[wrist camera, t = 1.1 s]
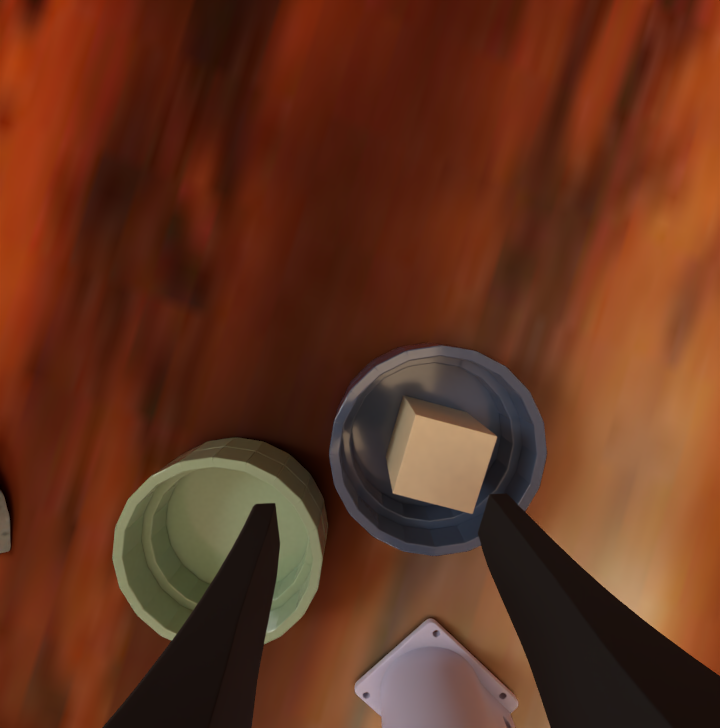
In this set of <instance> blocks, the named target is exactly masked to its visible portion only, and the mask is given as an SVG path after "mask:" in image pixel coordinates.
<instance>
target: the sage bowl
mask: <svg viewBox="0 0 720 728" xmlns="http://www.w3.org/2000/svg"><path fill="white" fill-rule="evenodd" d="M262 503H275V505H276V513H277V521H278V529H279V537H280V551H279V561H278V571H277V579H276V585H275V590H274V595H273V600H272V605H271V610H270V615H269V620H268V626H267V631H266V636H265V641H264V644H266V643H268V642H270V641H272V640H274V639H276V638H279V637H280V636H282V635H283V634H284V633H285V632H286V631H287V630H288V629H290V628H291V627H292V626H293V625H294V624H295V623H296V622H297V621H298V620H299V619H300V618H301V617H302V616H303V615H304V614H305V612H306V610H307V608H308V606H309V605H310V603H311V601H312V599H313V597H314V595H315V594H316V592H317V590H318V587H319V581H320V574H321V568H322V562H323V556H324V550H325V544H326V538H327V531H328V520H327V514H326V508H325V502H324V499H323V496H322V494H321V492H320V490H319V489H318V487H317V485H316V483H315V481H314V479H313V478H312V476H311V475H310V473H309V472H308V471H307V470H306V469H305V468H304V467H303V466H302V465H300V464H299V463H298V462H297V461H296V460H295V459H294V458H293V457H292V456H291V455H290V454H288V453H286V452H284V451H282V450H280V449H278V448H276V447H274V446H272V445H270V444H268V443H266V442H263V441H256V440H250V439H244V438H237V437H236V438H235V437H234V438H227V439H221V440H214V441H208V442H205V443H203V444H201V445H199V446H197V447H195V448H193V449H191V450H189V451H187V452H185V453H183V454H182V455H180V456H179V457H178V458H176V459H175V460H173V461H172V462H170V463H169V464H168V465H166V466H165V467H163V468H162V469H160V470H159V471H158V472H156V473H155V474H153V475H152V476H150V477H149V478H148V479H147V480H146V481H145V482H144V483H143V484H142V485H141V486H140V487H139V488H138V489H137V491H136V492H135V493H134V494H133V495H132V496H131V497H130V498H129V499H128V501H127V503H126V505H125V507H124V509H123V511H122V514H121V516H120V518H119V520H118V522H117V524H116V528H115V534H114V546H113V558H112V560H113V564H114V568H115V572H116V576H117V580H118V584H119V588H120V589H121V591H122V593H123V594H124V596H125V597H126V599H127V601H128V602H129V604H130V605H131V607H132V609H133V610H134V612H135V613H136V614H137V616H138V617H139V618H141V619H142V620H143V621H144V622H145V623H146V624H148V625H149V626H150V627H151V628H152V629H153V630H155V631H156V632H157V633H158V634H159V635H161V636H162V637H164V638H166V639H169V640H171V641H172V640H173V638H174V637H175V636H176V634H177V633H178V631H179V630H180V629H181V627H182V626H183V624H184V623H185V622H186V620H187V619H188V617H189V616H190V614H191V613H192V611H193V610H194V608H195V607H196V605H197V604H198V602H199V601H200V599H201V598H202V596H203V595H204V593H205V591H206V590H207V588H208V587H209V585H210V584H211V582H212V581H213V579H214V577H215V576H216V574H217V573H218V571H219V569H220V567H221V566H222V564H223V562H224V561H225V559H226V557H227V555H228V554H229V552H230V550H231V549H232V547H233V545H234V543H235V541H236V540H237V538H238V536H239V534H240V532H241V530H242V528H243V526H244V524H245V522H246V520H247V518H248V516H249V514H250V512H251V510H252V507H253V506H254V505H255V504H262Z"/></svg>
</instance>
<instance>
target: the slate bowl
mask: <svg viewBox="0 0 720 728" xmlns="http://www.w3.org/2000/svg"><path fill="white" fill-rule="evenodd" d="M403 396H408V397H412V398H415V399H419V400H423V401H427V402H430V403H434V404H438V405H441V406H445V407H449V408H453V409H456V410H460V411H464V412H467V413H468V414H469V415H471V416H472V417H473V418H475V419H476V420H477V421H478V422H480V423H481V424H482V425H483V426H485V427H486V428H487V429H489V430H490V431H491V432H492V433H494V434H495V435H496V436H497V440H496V443H495V446H494V449H493V452H492V455H491V458H490V461H489V464H488V468H487V471H486V474H485V477H484V480H483V483H482V486H481V489H480V492H479V495H478V498H477V502H476V505H475V508H474V511H473V514H470V513H466V512H462V511H459V510H455V509H451V508H447V507H443V506H439V505H436V504H432V503H428V502H424V501H420V500H416V499H412V498H409V497H405V496H401V495H397V494H393V492H392V487H391V482H390V477H389V472H388V466H387V461H386V454H387V450H388V447H389V443H390V440H391V437H392V433H393V430H394V426H395V423H396V419H397V416H398V412H399V409H400V405H401V402H402V399H403ZM546 457H547V448H546V438H545V428H544V422H543V419H542V417H541V415H540V412H539V410H538V408H537V406H536V404H535V402H534V399H533V397H532V395H531V393H530V392H529V390H528V389H527V388H526V387H525V386H524V385H523V384H522V383H521V381H520V380H519V379H518V378H517V377H516V376H515V375H514V374H513V373H512V372H511V371H510V370H509V369H508V368H507V367H506V366H504V365H502V364H500V363H499V362H497V361H495V360H493V359H491V358H489V357H487V356H485V355H483V354H481V353H479V352H478V351H475V350H470V349H464V348H459V347H453V346H447V345H441V344H435V343H421V344H415V345H409V346H402V347H398V348H396V349H394V350H392V351H390V352H388V353H386V354H384V355H382V356H380V357H378V358H376V359H374V360H373V361H371V362H370V363H369V364H368V365H367V366H366V367H365V368H364V369H363V370H362V371H361V372H360V373H359V374H358V375H357V376H356V377H355V378H354V379H353V380H352V381H351V382H350V384H349V386H348V388H347V390H346V392H345V394H344V396H343V398H342V400H341V402H340V404H339V406H338V409H337V412H336V416H335V419H334V423H333V429H332V436H331V442H330V448H329V459H330V464H331V470H332V476H333V482H334V486H335V488H336V490H337V492H338V494H339V496H340V498H341V499H342V501H343V503H344V505H345V507H346V509H347V511H348V513H349V514H350V515H351V516H352V517H353V518H354V519H355V520H356V521H357V522H358V523H359V524H360V525H361V526H362V527H363V528H364V529H365V530H366V531H367V532H368V533H370V534H371V535H372V536H373V537H374V538H376V539H378V540H380V541H382V542H384V543H387V544H389V545H391V546H393V547H395V548H397V549H399V550H401V551H404V552H410V553H417V554H424V555H430V556H440V555H447V554H454V553H461V552H467V551H470V550H472V549H475V548H477V547H479V546H481V543H480V539H479V536H478V531H479V527H480V524H481V521H482V517H483V514H484V511H485V508H486V504H487V501H488V498H489V494H505V493H507V494H508V495H509V496H510V497H511V498H512V499H513V500H514V501H515V502H516V503H517V504H518V505H519V506H520V507H521V508H522V509H523V510H524V511H526V509H527V508H528V506H529V504H530V503H531V501H532V499H533V498H534V496H535V494H536V493H537V491H538V489H539V486H540V484H541V479H542V475H543V470H544V466H545V462H546Z"/></svg>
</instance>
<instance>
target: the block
mask: <svg viewBox="0 0 720 728" xmlns="http://www.w3.org/2000/svg"><path fill="white" fill-rule="evenodd" d="M496 440H497V436H496V435H495V434H494V433H492V432H491V431H490V430H489V429H487V428H486V427H485V426H483V425H482V424H481V423H480V422H478V421H477V420H476V419H475V418H473V417H472V416H471V415H469V414H468V413H467V412H464V411H460V410H456V409H453V408H449V407H445V406H441V405H438V404H434V403H430V402H427V401H423V400H419V399H415V398H412V397H408V396H403V399H402V402H401V405H400V409H399V412H398V416H397V419H396V423H395V426H394V430H393V433H392V437H391V440H390V443H389V447H388V450H387V454H386V461H387V466H388V472H389V477H390V482H391V487H392V492H393V494H397V495H401V496H405V497H409V498H412V499H416V500H420V501H424V502H428V503H432V504H436V505H439V506H443V507H447V508H451V509H455V510H459V511H462V512H466V513H470V514H473V511H474V508H475V505H476V502H477V498H478V495H479V492H480V489H481V486H482V483H483V480H484V477H485V474H486V471H487V468H488V464H489V461H490V458H491V455H492V452H493V449H494V446H495V443H496Z"/></svg>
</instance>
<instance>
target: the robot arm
mask: <svg viewBox="0 0 720 728" xmlns="http://www.w3.org/2000/svg"><path fill="white" fill-rule="evenodd" d="M478 536H479V539H480V543H481V546H482V549H483V553H484V556H485V559H486V562H487V565H488V567H489V570H490V572H491V575H492V577H493V579H494V582H495V584H496V586H497V589H498V591H499V593H500V596H501V598H502V600H503V602H504V605H505V607H506V609H507V612H508V614H509V616H510V618H511V621H512V623H513V625H514V628H515V630H516V632H517V635H518V637H519V639H520V641H521V644H522V646H523V649H524V651H525V654H526V656H527V659H528V662H529V664H530V667H531V670H532V673H533V676H534V679H535V682H536V685H537V688H538V691H539V693H540V696H541V699H542V702H543V705H544V708H545V711H546V715H547V718H548V721H549V724H550V727H551V728H720V676H719V675H717V674H716V673H715V672H713V671H712V670H710V669H709V668H708V667H706V666H705V665H703V664H702V663H700V662H699V661H698V660H696V659H695V658H693V657H692V656H691V655H689V654H688V653H687V652H685V651H684V650H682V649H681V648H680V647H678V646H677V645H676V644H674V643H673V642H672V641H670V640H669V639H668V638H666V637H665V636H664V635H662V634H661V633H660V632H658V631H657V630H656V629H654V628H653V627H652V626H650V625H649V624H648V623H647V622H645V621H644V620H643V619H642V618H640V617H639V616H638V615H637V614H635V613H634V612H633V611H632V610H630V609H629V608H628V607H627V606H626V605H624V604H623V603H622V602H621V601H619V600H618V599H617V598H616V597H615V596H613V595H612V594H611V593H610V592H609V591H608V590H606V589H605V588H604V587H603V586H602V585H601V584H600V583H598V582H597V581H596V580H595V579H594V578H593V577H592V576H591V575H590V574H588V573H587V572H586V571H585V570H584V569H583V568H582V567H581V566H580V565H578V564H577V563H576V562H575V561H574V560H573V559H572V558H571V557H570V556H569V555H568V554H567V553H566V552H565V551H564V550H563V549H562V548H561V547H560V546H559V545H557V544H556V543H555V542H554V541H553V540H552V539H551V538H550V537H549V536H548V535H547V534H546V533H545V532H544V531H543V530H542V529H541V528H540V527H539V526H538V525H537V524H536V523H535V522H534V521H533V520H532V519H531V518H530V517H529V516H528V514H527V513H526V512H525V511H524V510H523V509H522V508H521V507H520V506H519V505H518V504H517V503H516V502H515V501H514V500H513V499H512V498H511V497H510V496H509V495H508V494H507V493H505V494H489V498H488V501H487V504H486V508H485V511H484V514H483V517H482V521H481V524H480V527H479V531H478ZM279 551H280V537H279V529H278V521H277V513H276V505H275V503H262V504H255V505H254V506H253V507H252V510H251V512H250V514H249V516H248V518H247V520H246V522H245V524H244V526H243V528H242V530H241V532H240V534H239V536H238V538H237V540H236V541H235V543H234V545H233V547H232V549H231V550H230V552H229V554H228V555H227V557H226V559H225V561H224V562H223V564H222V566H221V567H220V569H219V571H218V573H217V574H216V576H215V577H214V579H213V581H212V582H211V584H210V585H209V587H208V588H207V590H206V591H205V593H204V595H203V596H202V598H201V599H200V601H199V602H198V604H197V605H196V607H195V608H194V610H193V611H192V613H191V614H190V616H189V617H188V619H187V620H186V622H185V623H184V624H183V626H182V627H181V629H180V630H179V631H178V633H177V634H176V636H175V637H174V638H173V640H172V641H171V642H170V644H169V645H168V647H167V648H166V649H165V651H164V652H163V653H162V655H161V656H160V657H159V658H158V660H157V661H156V662H155V664H154V665H153V666H152V668H151V669H150V670H149V671H148V673H147V674H146V675H145V677H144V678H143V679H142V680H141V682H140V683H139V684H138V686H137V687H136V688H135V689H134V691H133V692H132V693H131V694H130V696H129V697H128V698H127V699H126V700H125V702H124V703H123V704H122V705H121V706H120V708H119V709H118V710H117V711H116V712H115V714H114V715H113V716H112V717H111V718H110V719H109V721H108V722H107V723H106V724H105V725H104V726H103V728H251V726H252V718H253V710H254V702H255V694H256V685H257V679H258V673H259V667H260V661H261V656H262V651H263V646H264V641H265V636H266V631H267V626H268V620H269V615H270V610H271V605H272V600H273V595H274V590H275V585H276V579H277V571H278V561H279ZM435 630H438V631H437V632H434V631H435ZM365 692H367V693H365ZM355 693H356V694H357V695H358V696H359V697H360V698H361V699H362V700H363V701H364V702H365V703H367V704H368V705H369V706H370V707H371V708H372V709H373V710H374V711H375V712H377V713H378V714H379V715H380V716H381V717H382V728H516V727H515V725H514V722H513V720H512V717H511V714H510V713H512V712H513V711H514V710H515V709H516V708H517V707H518V700H517V698H516V696H515V695H514V694H513V693H512V692H511V691H510V690H509V689H508V688H507V687H506V686H505V685H504V684H502V683H501V682H500V681H499V680H498V679H497V678H496V677H495V676H494V675H493V674H492V673H491V672H490V671H489V670H488V669H487V668H486V667H484V666H483V665H482V664H481V663H480V662H479V661H478V660H477V659H476V658H475V657H474V656H473V655H472V654H471V653H470V652H469V651H468V650H466V649H465V648H464V647H463V646H462V645H461V644H460V643H459V642H458V641H457V640H456V639H455V638H454V637H453V636H452V635H451V634H450V633H448V632H447V631H446V630H445V629H444V628H443V627H442V626H441V625H440V624H439V623H438V622H437V621H436V620H434V619H431V618H430V619H427V620H425V621H424V622H423V623H422V624H421V625H420V626H419V627H418V628H416V629H415V630H414V631H413V632H412V633H411V634H410V635H409V636H407V637H406V638H405V639H404V640H403V641H402V642H401V643H400V644H398V645H397V646H396V647H395V648H394V649H393V650H392V651H391V652H389V653H388V654H387V655H386V656H385V657H384V658H383V659H382V660H380V661H379V662H378V663H377V664H376V665H375V666H374V667H373V668H371V669H370V670H369V671H368V672H367V673H366V674H365V675H364V676H362V677H361V678H360V679H359V680H358V681H357V682H356V683H355Z"/></svg>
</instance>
